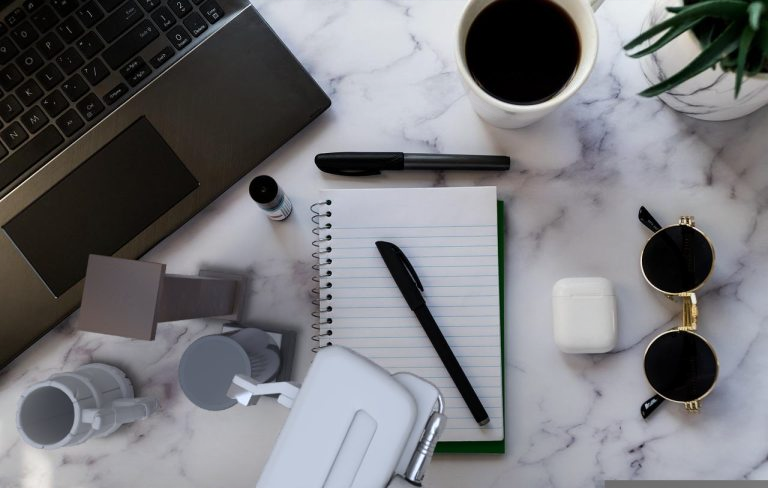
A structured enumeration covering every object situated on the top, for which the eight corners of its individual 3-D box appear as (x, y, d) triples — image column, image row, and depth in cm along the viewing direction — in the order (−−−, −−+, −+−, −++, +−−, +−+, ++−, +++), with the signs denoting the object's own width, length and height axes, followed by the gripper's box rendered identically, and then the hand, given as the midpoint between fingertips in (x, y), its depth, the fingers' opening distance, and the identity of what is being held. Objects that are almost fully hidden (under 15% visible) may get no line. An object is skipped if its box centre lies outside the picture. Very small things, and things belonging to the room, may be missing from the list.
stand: (244, 325, 68) (150, 341, 46) (193, 317, 68) (76, 330, 46) (252, 272, 68) (162, 263, 46) (201, 265, 69) (89, 253, 47)
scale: (288, 395, 67) (280, 400, 63) (221, 384, 67) (210, 389, 64) (297, 331, 67) (289, 333, 64) (230, 322, 68) (220, 323, 65)
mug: (70, 360, 69) (-7, 374, 57) (176, 364, 68) (120, 379, 56) (66, 432, 69) (-13, 462, 57) (173, 437, 67) (115, 469, 56)
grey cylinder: (276, 397, 63) (245, 416, 54) (214, 387, 64) (172, 404, 54) (285, 332, 64) (257, 340, 54) (224, 323, 64) (184, 329, 55)
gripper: (456, 397, 37) (253, 301, 40) (305, 746, 35) (103, 616, 38) (461, 393, 43) (284, 310, 46) (333, 690, 41) (156, 582, 44)
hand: (201, 450), depth 42 cm, fingers open, 8 cm apart
